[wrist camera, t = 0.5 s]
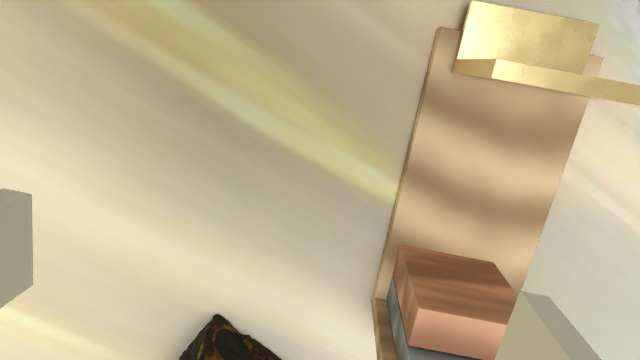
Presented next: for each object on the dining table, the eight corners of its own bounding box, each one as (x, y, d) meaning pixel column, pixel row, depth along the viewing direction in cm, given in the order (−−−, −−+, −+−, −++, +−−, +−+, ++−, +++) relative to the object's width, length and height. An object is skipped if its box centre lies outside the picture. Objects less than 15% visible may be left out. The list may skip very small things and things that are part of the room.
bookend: (469, 1, 30) (519, -22, 21) (594, 24, 30) (695, 10, 21) (451, 72, 31) (491, 77, 23) (570, 95, 31) (655, 108, 23)
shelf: (437, 28, 32) (491, 10, 20) (594, 57, 32) (738, 56, 20) (371, 301, 39) (382, 407, 27) (500, 326, 39) (567, 442, 27)
